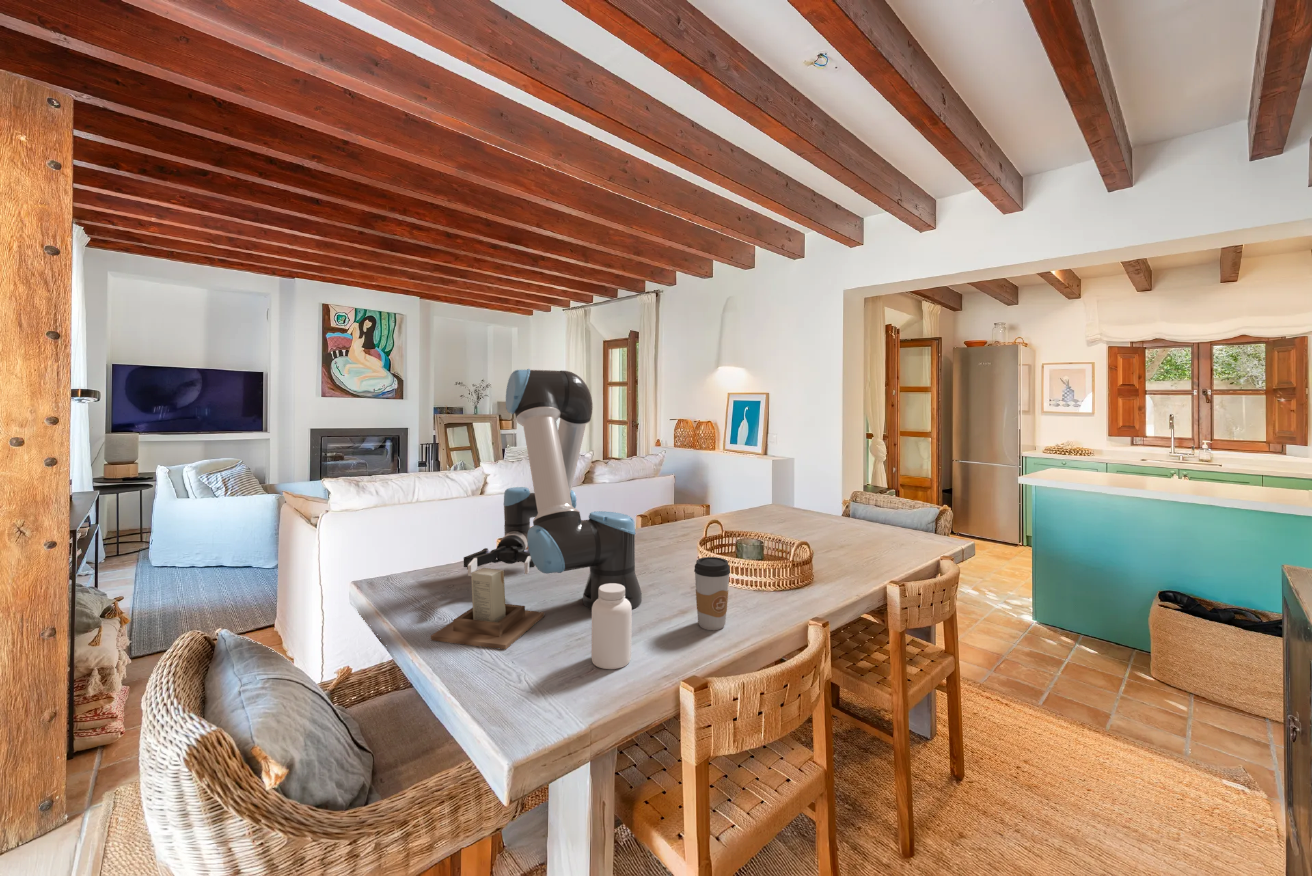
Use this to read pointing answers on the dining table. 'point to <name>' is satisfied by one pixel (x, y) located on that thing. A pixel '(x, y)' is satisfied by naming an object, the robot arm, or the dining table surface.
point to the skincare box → (488, 595)
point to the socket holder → (489, 628)
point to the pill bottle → (611, 627)
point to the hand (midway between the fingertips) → (497, 569)
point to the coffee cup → (712, 591)
